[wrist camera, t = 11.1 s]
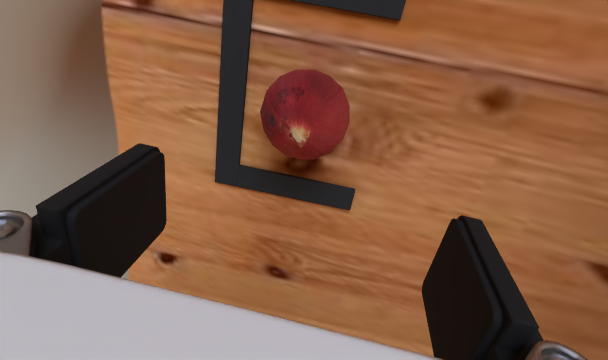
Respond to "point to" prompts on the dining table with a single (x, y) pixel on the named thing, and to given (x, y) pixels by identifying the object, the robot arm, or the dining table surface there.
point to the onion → (305, 114)
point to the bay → (232, 101)
